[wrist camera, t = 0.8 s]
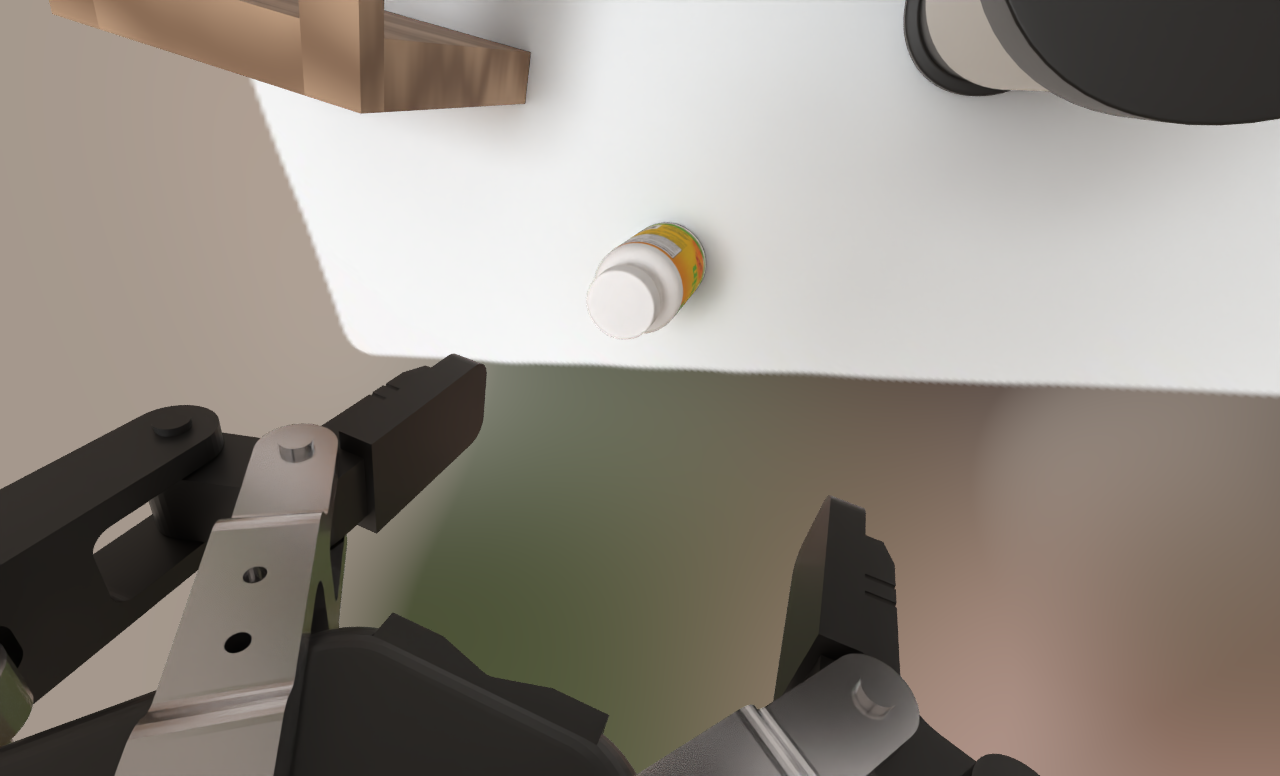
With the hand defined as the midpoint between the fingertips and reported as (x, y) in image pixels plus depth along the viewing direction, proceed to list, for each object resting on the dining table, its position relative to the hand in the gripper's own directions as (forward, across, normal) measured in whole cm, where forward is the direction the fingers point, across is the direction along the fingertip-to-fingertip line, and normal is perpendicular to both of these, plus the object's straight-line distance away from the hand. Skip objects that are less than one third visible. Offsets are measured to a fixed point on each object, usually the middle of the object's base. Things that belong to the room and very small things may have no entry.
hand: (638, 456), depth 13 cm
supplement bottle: (+28, +6, +6) cm, 29 cm away
